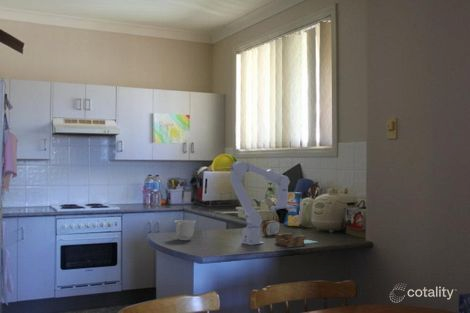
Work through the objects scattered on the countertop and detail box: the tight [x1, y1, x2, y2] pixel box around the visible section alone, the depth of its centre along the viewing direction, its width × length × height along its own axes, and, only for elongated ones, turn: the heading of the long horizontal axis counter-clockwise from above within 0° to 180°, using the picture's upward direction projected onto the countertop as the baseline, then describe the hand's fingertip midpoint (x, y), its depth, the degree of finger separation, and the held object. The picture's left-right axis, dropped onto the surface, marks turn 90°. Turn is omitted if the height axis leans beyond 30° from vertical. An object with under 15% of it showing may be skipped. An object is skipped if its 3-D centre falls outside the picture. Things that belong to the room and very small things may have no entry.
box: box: [274, 232, 306, 248], centre depth 266 cm, size 12×10×5 cm
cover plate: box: [304, 239, 319, 246], centre depth 273 cm, size 11×8×1 cm
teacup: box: [173, 219, 197, 241], centre depth 277 cm, size 12×15×10 cm
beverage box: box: [283, 191, 303, 227], centre depth 346 cm, size 7×11×22 cm, turn 71°
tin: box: [261, 219, 281, 237], centre depth 299 cm, size 15×3×8 cm, turn 141°
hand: (281, 223), depth 273 cm, fingers closed
